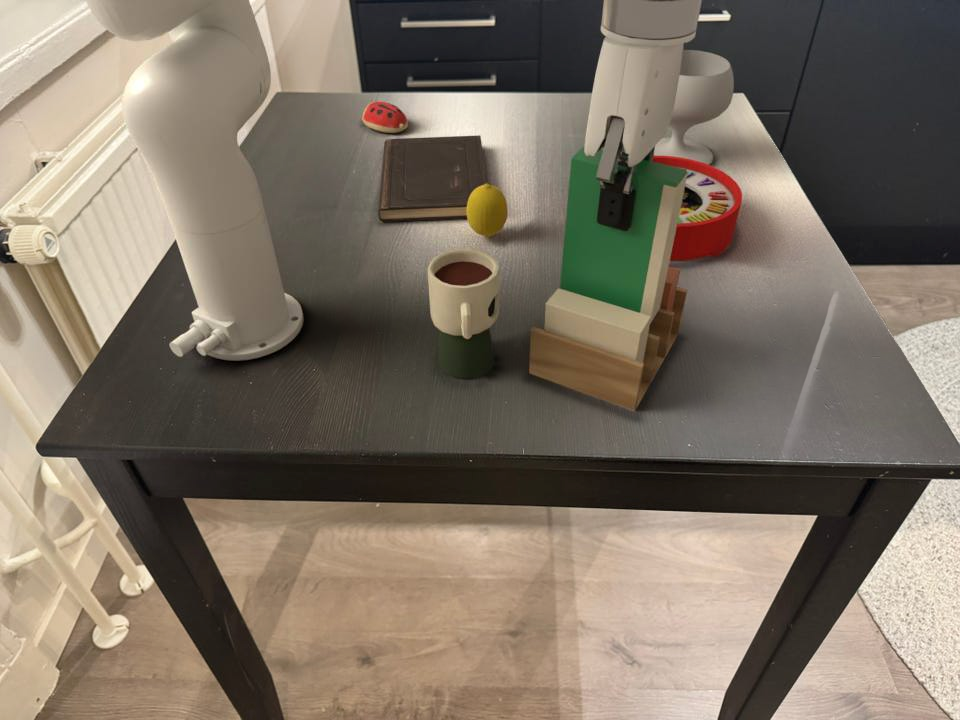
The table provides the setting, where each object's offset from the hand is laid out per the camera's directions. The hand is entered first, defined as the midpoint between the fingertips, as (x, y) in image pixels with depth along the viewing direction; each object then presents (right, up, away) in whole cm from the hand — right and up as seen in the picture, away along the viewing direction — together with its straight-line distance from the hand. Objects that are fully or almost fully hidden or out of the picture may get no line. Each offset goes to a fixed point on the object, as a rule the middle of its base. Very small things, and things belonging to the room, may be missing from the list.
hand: (620, 215), depth 69 cm
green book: (0, -8, +7) cm, 11 cm away
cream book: (-2, -16, +8) cm, 18 cm away
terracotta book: (+3, -10, +14) cm, 18 cm away
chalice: (+18, +19, +49) cm, 56 cm away
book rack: (+1, -14, +12) cm, 18 cm away
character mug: (-15, -15, +11) cm, 24 cm away
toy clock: (+12, +5, +33) cm, 35 cm away
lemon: (-12, +3, +31) cm, 34 cm away
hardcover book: (-21, +14, +44) cm, 50 cm away
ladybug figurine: (-30, +28, +60) cm, 73 cm away
